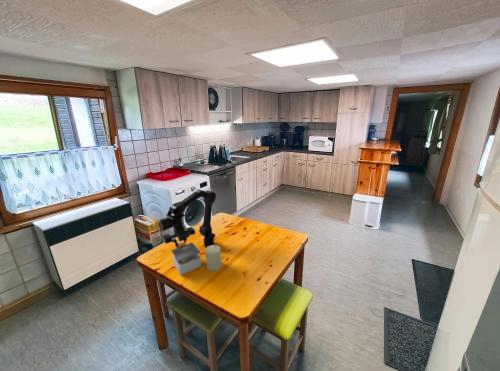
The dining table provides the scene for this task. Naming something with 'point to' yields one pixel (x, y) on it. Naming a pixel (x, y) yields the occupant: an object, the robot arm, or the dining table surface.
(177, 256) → the lid
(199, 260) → the tub
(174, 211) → the robot arm
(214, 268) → the can
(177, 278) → the dining table surface
